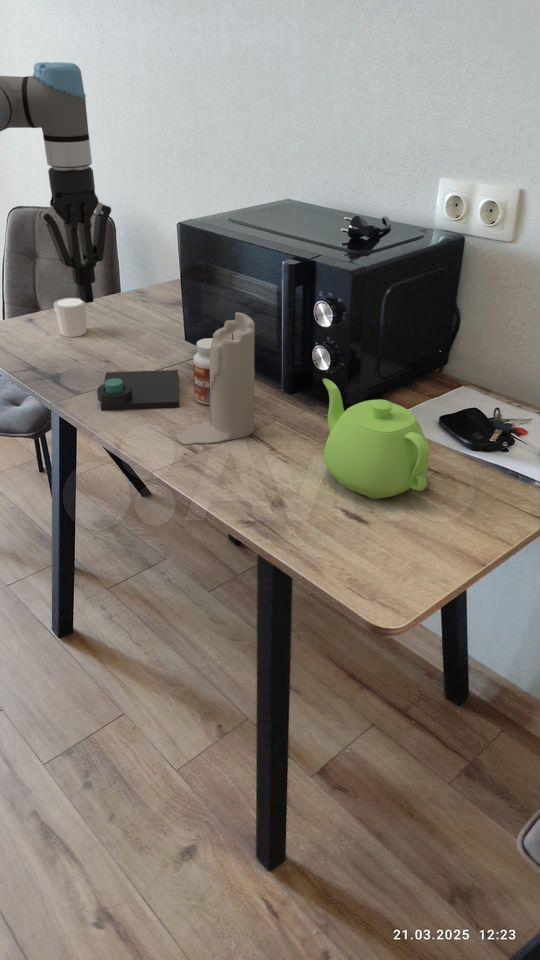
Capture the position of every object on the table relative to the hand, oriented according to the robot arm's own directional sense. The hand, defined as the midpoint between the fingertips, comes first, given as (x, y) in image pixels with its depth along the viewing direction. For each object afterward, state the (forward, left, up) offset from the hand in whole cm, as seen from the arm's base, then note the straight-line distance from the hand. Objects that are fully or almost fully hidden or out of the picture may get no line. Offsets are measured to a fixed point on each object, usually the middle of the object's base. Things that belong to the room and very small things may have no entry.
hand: (86, 300), depth 134 cm
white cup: (-7, +21, -15) cm, 26 cm away
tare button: (+5, -15, -12) cm, 20 cm away
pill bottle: (+22, -15, -15) cm, 31 cm away
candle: (+22, -28, -15) cm, 39 cm away
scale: (+9, -11, -14) cm, 20 cm away
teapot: (+45, -44, -15) cm, 65 cm away
